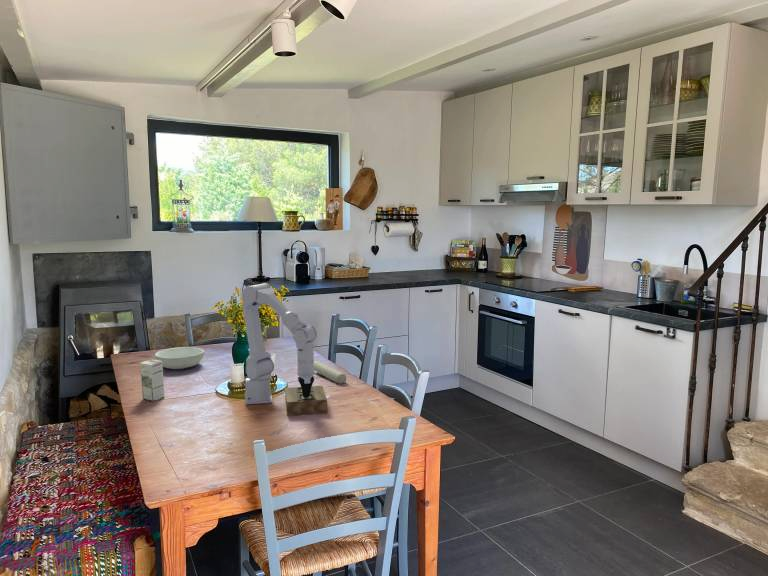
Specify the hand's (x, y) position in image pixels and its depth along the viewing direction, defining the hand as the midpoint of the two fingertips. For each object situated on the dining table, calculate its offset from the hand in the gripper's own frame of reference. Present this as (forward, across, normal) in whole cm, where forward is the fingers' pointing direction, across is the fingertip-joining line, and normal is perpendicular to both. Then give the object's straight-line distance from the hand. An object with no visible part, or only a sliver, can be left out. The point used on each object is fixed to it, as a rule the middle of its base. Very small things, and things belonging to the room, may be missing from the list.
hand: (306, 397), depth 207 cm
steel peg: (+5, 0, 0) cm, 5 cm away
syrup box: (+5, +24, +56) cm, 61 cm away
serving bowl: (+5, +67, +52) cm, 85 cm away
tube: (+6, +39, -12) cm, 41 cm away
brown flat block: (+5, +4, 0) cm, 6 cm away
